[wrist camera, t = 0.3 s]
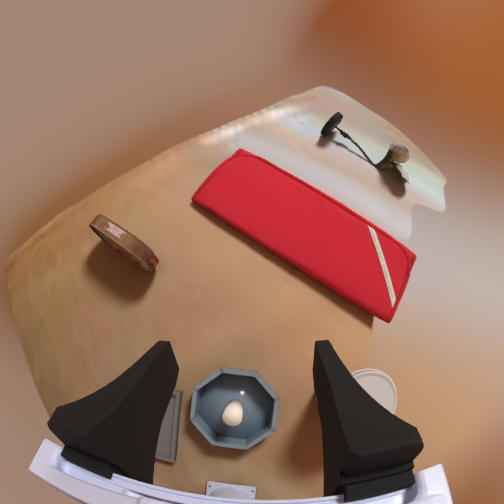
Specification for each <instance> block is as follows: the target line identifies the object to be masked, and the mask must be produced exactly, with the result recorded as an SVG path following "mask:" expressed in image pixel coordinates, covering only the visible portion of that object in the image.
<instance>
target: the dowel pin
mask: <svg viewBox="0 0 504 504" xmlns="http://www.w3.org/2000/svg"><path fill="white" fill-rule="evenodd" d="M243 407H244V406H243V403H242V402H241V401H240V400H238V399H232V400H230V401H229V402H228V404H227V406H226V408H225V410H224V413H223V415H222V418H223V421H224V422H225V423H226V424H227V425H229V426H236V425H238V424H240V422H241V421H242V416H243Z"/></svg>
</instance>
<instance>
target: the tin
mask: <svg viewBox="0 0 504 504" xmlns="http://www.w3.org/2000/svg"><path fill="white" fill-rule="evenodd" d="M89 226H90V228H91V229H92V230H93V231H94V232H95V233H96V234H97V235H98V236H99V237H100V238H101V239H102V240H103V241H104V242H105V243H106V244H108V245H109V246H110V247H112V248H113V249H114V250H115V251H117V252H118V253H120V254H121V255H123V256H124V257H125V258H127V259H128V260H130V261H131V262H133V263H134V264H135V265H137V266H138V267H140V268H141V269H143V270H145V271H146V272H148V273H152V271H153V270H154V268H155V267H156V266H157V264H158V262H159V260H158V258H157V257H156V256H155V254H154V252H153V251H152V250H151V249H150V248H149V247H148V246H147V245H146V244H145V243H143V242H142V241H141V240H140V239H138V238H137V237H136V236H134V235H133V234H131V233H130V232H128V231H127V230H125V229H123V228H122V227H120V226H119V225H117V224H116V223H114V222H113V221H111V220H109V219H108V218H106V217H105V216H103V215H97V216H96V217H95V219H94V220H93V221H92V222H91V224H89Z"/></svg>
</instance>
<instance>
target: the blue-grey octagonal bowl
mask: <svg viewBox="0 0 504 504" xmlns="http://www.w3.org/2000/svg"><path fill="white" fill-rule="evenodd" d="M202 387H203V388H202ZM272 397H273V398H272ZM232 399H238V400H240V401H241V402H242V403H243V406H244V407H243V416H242V421H241V422H240V424H238V425H236V426H229V425H227V424H226V423H225V422H224V421H223V418H222V415H223V413H224V410H225V408H226V406H227V404H228V402H229V401H230V400H232ZM279 399H280V398H279V397H278V395H277V394H276V393H275V392H274V391H273V390H272V389H271V387H270V386H269V385H268V384H267V383H266V382H265V380H264V379H263V378H262V377H261V376H260V375H259V373H258V372H257V371H253V370H244V369H236V368H228V367H222V368H221V369H219V370H218V371H217V372H215V373H214V374H213V375H211V376H210V377H208V378H207V379H205V380H204V381H203V382H201V383H200V384H198V385H197V386H195V387H193V395H192V404H191V413H190V420H191V422H192V423H193V424H194V425H195V426H196V428H197V429H198V430H199V431H200V432H201V433H202V434H203V436H204V437H205V438H206V439H207V440H208V441H209V442H210V443H211V444H212V445H215V446H221V447H229V448H236V449H245V450H248V449H249V448H250V447H252V446H254V445H255V444H257V443H258V442H260V441H261V440H263V439H264V438H265V437H267V436H268V435H270V434H271V433H273V432H274V431H275V428H276V421H277V414H278V406H279Z"/></svg>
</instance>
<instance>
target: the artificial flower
mask: <svg viewBox="0 0 504 504" xmlns="http://www.w3.org/2000/svg"><path fill="white" fill-rule="evenodd" d="M342 118H343V115H342V114H341V113H340V112H337V113H336V114H334V115H333V116H332V117H331V118H330V119H329V121H328V122H327V123H326V124H325V125H324V127H323V129H322V131H321V133H320V134H324V135H326V136H327V135H328V134H329V133H330V132H331V131H333V129H334V128H335V127H336V128H337V125H338V124H339V123H340V122H341V119H342ZM337 129H338V130H339V131H340V133H341V134H342V135H343V136H344V138H348V139H350V140H351V141H352V142H353V143H354V144H355V145H356V146H357V147H358V148H359V149H360V150H361V152H362V153H363V154H364V156H365V157H366V158H367V159H368V161H369V162H370V163H371V164H372V165H373V166H375V167H380V168H382V169H387V168H388V167H391V166H393V167H395V169H396V170H397V169H398V171H399V172H400V174H401V175H402V177H403V178H404V179H405V180H406V181H407V182H408V179H409V178H408V174H407V173H406V172H405V171H404V170H403V168H402V166H401V165H400V164H399V163H405V162H407V161H408V160H407V159H408V158H409V156H410V155H409V150H408V148H406V147H405V146H402V145H399V144H398V143H396V142H393V143H392V144H391V146H390V149H389V151H388V152H387V154H386V156H385V157H384V159H383V160H381V161H380V162H379V163H378V164H374V163H373V162H372V161H371V160H370V159H369V157H368V156H367V155H366V154H365V152H364V151H363V150H362V148H360V146H359V145H358V144H357V143H356V142H354V141H353V140H352V139H351V137H350V136H349V135H348V134H347V133H345V132H343V131H342V130H340V129H339V128H337ZM408 155H409V156H408ZM406 160H407V161H406ZM398 162H399V163H398ZM408 183H409V182H408Z"/></svg>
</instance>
